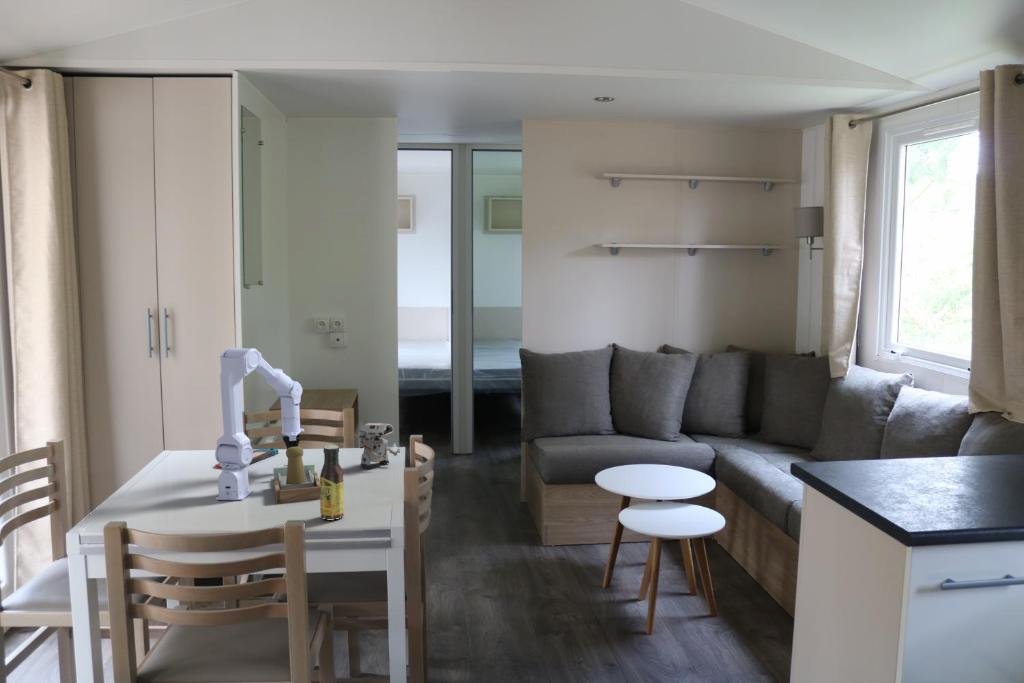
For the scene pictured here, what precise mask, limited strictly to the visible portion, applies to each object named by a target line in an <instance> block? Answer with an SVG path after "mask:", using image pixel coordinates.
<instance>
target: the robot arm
mask: <svg viewBox="0 0 1024 683" xmlns="http://www.w3.org/2000/svg"><path fill="white" fill-rule="evenodd" d="M219 358H220V378H219V379H220V392H221V409H222V410H221V411H222V424H223V425H222V426H223V434H222V436H220V437H219V438H218V439H217V440H216V448H215V452H214V456H215V460H216V462H217V463H220V466H221V467H222V469H221V473H220V474H219V476H218V478H217V487H218V488H217V489H218V496H217V497H216V498H215V501H220V500H221V501H243V500H244V499H246V497H248V496H249V495H251V494H253V492H254V490H255V489H253V488H249V487H250V486H249V470H248V469H249V467H248V466H250V464H249V463H250V462H251V461H252V458H253V451H254V450H253V448H252V446H251V439H250V438H249V437H248V436H247V435H246V434H245V433H244V423H243V422H244V421H243V420H244V419H243V405H242V404H243V403H242V389H241V388H242V387H241V381H242V380H243V379H244V378H245V377H247V376H249V374H250V373H252V372H254V371H256V372H257V373H259V374H260V375H262V377H265V382H266V383H267V385H268V386H270V387H271V388H273V389H274V391H275V393H276V396H277V398H280V412H281V414H280V415H281V434H282V435H283V436H282V441H283V442H284V444H285V446H286V450H287V449H288V448H290V447H299V444H300V442H301V438H302V437H301V434H300V433H304V432H305V429H304V428H301V418H300V417H301V416H300V415H301V414H300V403H301V397H302V395H303V387H302V385H301V383H299V381H296V380H293V379H292V378H291V377H290V376H288V375H287V374H285V372H283V371H284V370H283V369H282V368H273V367H272V366H271V365H270V364H269V363H268V362H267V361H266V360H265V359H264V358H263V356H262V353H261V352H260V351H259V350H258V349H257V348H252V347H251V348H243V347H240V348H239V347H231V346H230V347H226V349H225V350H224V351H223V352H222V354H221V355H220V357H219Z"/></svg>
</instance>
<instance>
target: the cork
mask: <svg viewBox="0 0 1024 683" xmlns="http://www.w3.org/2000/svg"><path fill="white" fill-rule="evenodd" d="M303 456H304V449H303V447H301V446H298V447H290V448H288V449H287V448H286V451H285V457H286V458H287V464H286V465H287V478H286V484H298V483H306V477H305V472H304V467H303V465H304V462H303Z"/></svg>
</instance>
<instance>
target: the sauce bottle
mask: <svg viewBox="0 0 1024 683" xmlns="http://www.w3.org/2000/svg"><path fill="white" fill-rule="evenodd" d="M339 452H340V447H339V445H336V444H329V445H325V446H323V455H324V458H323V459H324V461H323V466H322V469H321V472H320V476H319V480H320V499H319V503H320V505H319V506H320V507H319V508H320V517H322V518H325V519H336V518H340V517H342V516H343V517H344V511H345V503H344V500H345V498H344V495H345V494H344V493H345V491H344V489H345V488H344V470H343V469H342V466H341V465H340V462H339V461H340V460H339ZM343 517H342V518H343ZM322 518H321V519H322Z"/></svg>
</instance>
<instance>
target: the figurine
mask: <svg viewBox="0 0 1024 683" xmlns="http://www.w3.org/2000/svg"><path fill="white" fill-rule="evenodd" d="M360 431H361V432H364V433H366V434H367V436H369V437H364V436H363V437H361V438H360V443H359V449H363V453H362V454H361V456H360V457H361V458H360V461H361V462H360V467H361V468H362V467H364V468H363V469H366V468H367V469H366V470H371V469H372V465H371V463H379V462H381V463H385V464H387V463H388V464H390V460H389V454H392V455H393V456H395V457H396V456H398V453H399V454H400V453H401V451H400V448H398V449H397V450H396V451H395V450H393V449H392V448H391V447H390V446H388V439H386V438H383V437H385V436H388V435H390V434H392V433H394V427H393V425H392V424H391V423H380V422H379V423H378V422H377V423H376V422H375V423H372V422H367V423H365V424H363V425H362V427H360ZM364 438H365V439H364ZM388 451H389V454H388ZM381 463H380V464H381ZM385 464H384V465H385ZM388 464H387V465H388Z"/></svg>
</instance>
